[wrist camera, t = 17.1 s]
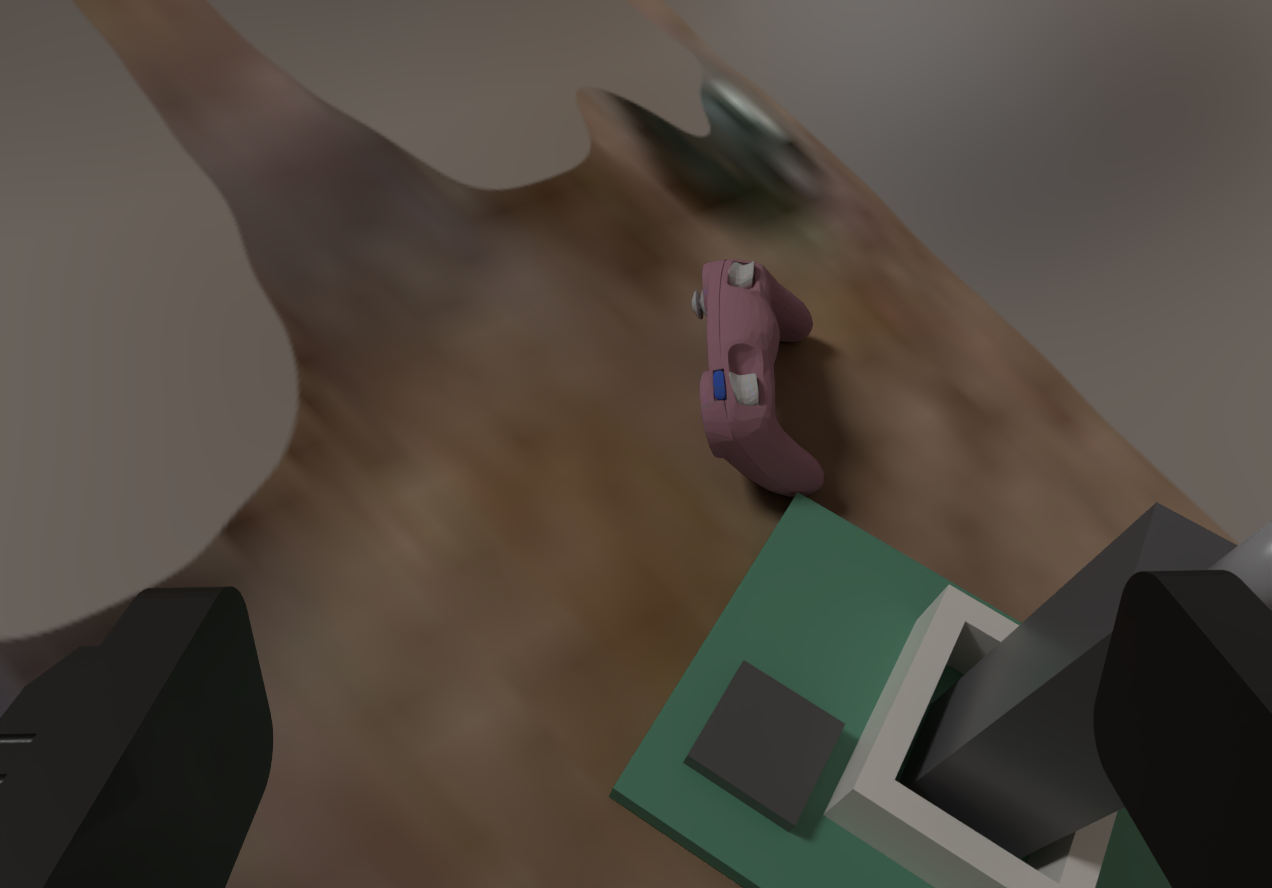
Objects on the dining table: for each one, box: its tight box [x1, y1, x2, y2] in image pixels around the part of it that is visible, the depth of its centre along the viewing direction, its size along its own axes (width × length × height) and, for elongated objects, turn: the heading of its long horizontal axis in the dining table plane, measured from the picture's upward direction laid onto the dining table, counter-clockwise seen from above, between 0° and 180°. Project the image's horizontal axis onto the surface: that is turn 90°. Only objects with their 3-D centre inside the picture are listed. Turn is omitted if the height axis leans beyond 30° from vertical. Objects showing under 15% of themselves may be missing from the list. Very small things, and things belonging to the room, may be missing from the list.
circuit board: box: [609, 492, 1172, 888], centre depth 34 cm, size 20×14×4 cm
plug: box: [899, 502, 1272, 859], centre depth 28 cm, size 4×5×17 cm
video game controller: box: [692, 259, 824, 497], centre depth 42 cm, size 10×5×7 cm, turn 178°
